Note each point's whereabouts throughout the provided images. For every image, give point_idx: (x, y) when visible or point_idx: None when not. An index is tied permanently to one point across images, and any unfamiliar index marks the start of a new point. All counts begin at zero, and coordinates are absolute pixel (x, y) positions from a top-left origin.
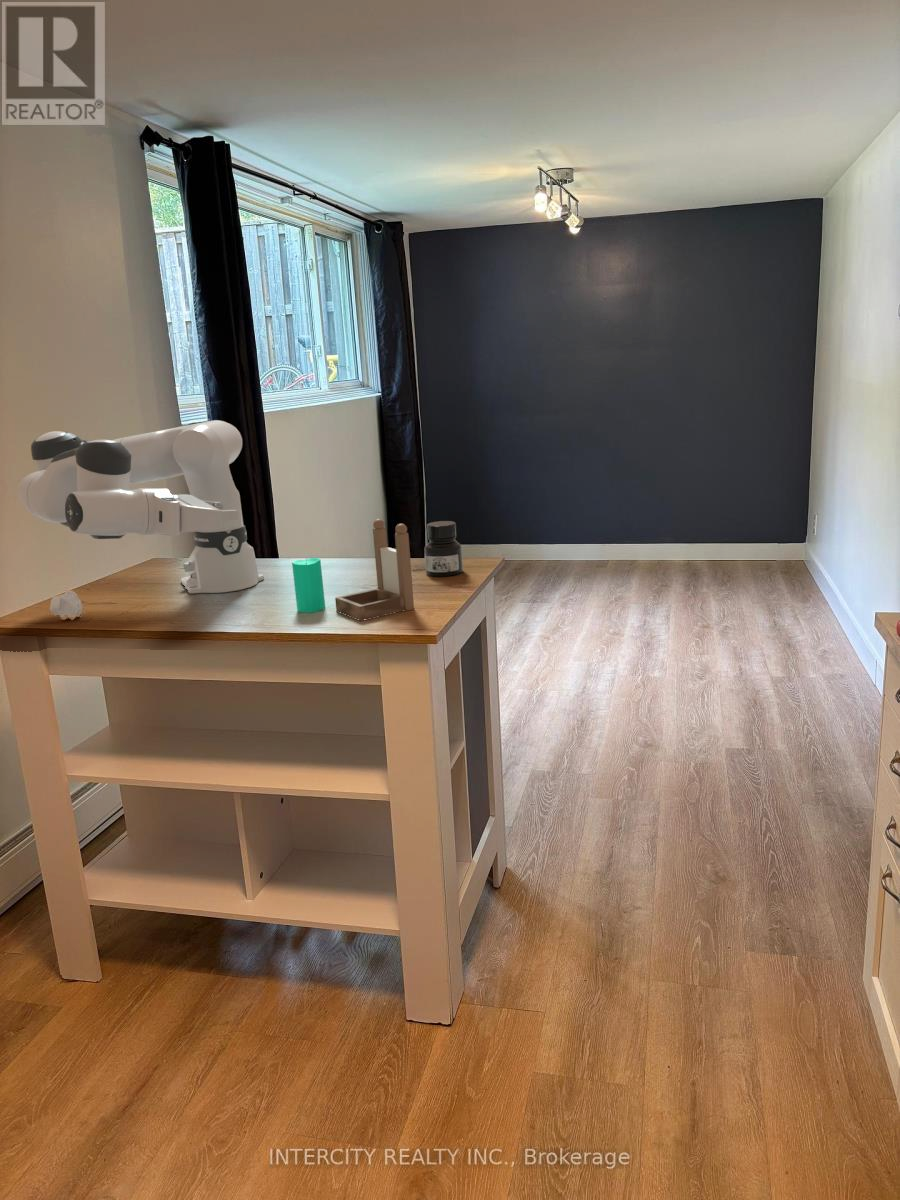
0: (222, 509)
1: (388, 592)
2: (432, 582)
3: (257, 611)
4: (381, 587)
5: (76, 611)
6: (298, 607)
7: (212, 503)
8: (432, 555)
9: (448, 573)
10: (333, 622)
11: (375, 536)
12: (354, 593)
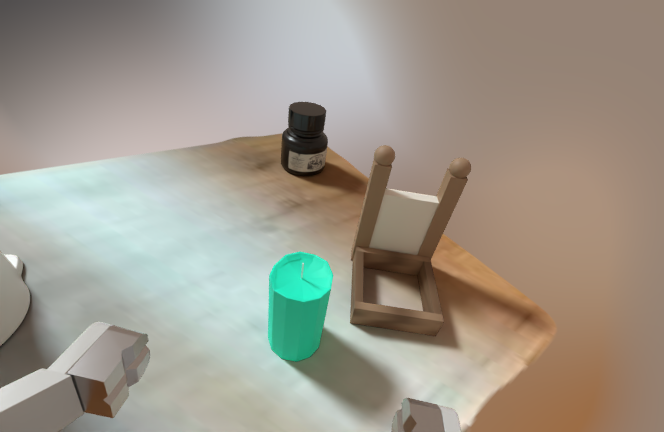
0: (148, 357)
1: (392, 253)
2: (326, 189)
3: (199, 416)
4: (366, 245)
5: None
6: (290, 356)
7: (68, 385)
8: (309, 153)
9: (322, 169)
10: (410, 367)
11: (379, 177)
12: (356, 277)
